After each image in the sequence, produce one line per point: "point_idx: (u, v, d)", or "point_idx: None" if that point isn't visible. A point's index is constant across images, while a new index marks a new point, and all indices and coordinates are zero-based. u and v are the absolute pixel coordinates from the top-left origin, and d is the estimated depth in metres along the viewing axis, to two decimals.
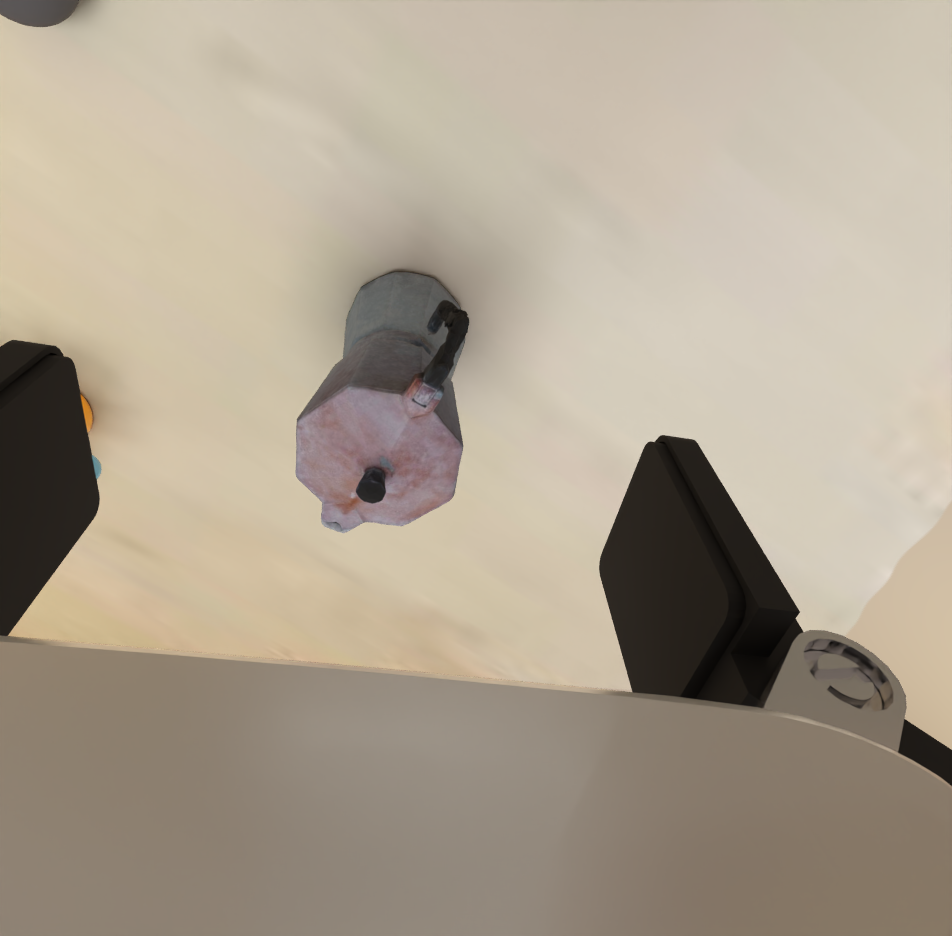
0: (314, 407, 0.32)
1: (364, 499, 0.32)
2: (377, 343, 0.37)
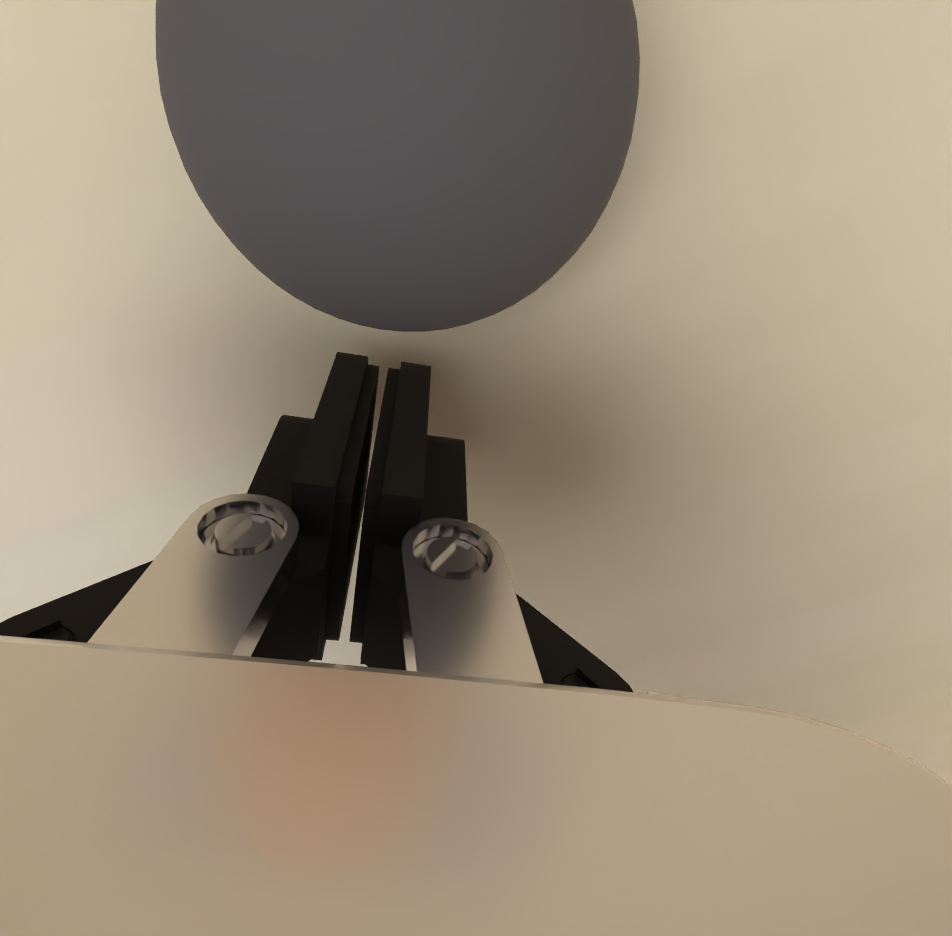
0: None
1: None
2: None
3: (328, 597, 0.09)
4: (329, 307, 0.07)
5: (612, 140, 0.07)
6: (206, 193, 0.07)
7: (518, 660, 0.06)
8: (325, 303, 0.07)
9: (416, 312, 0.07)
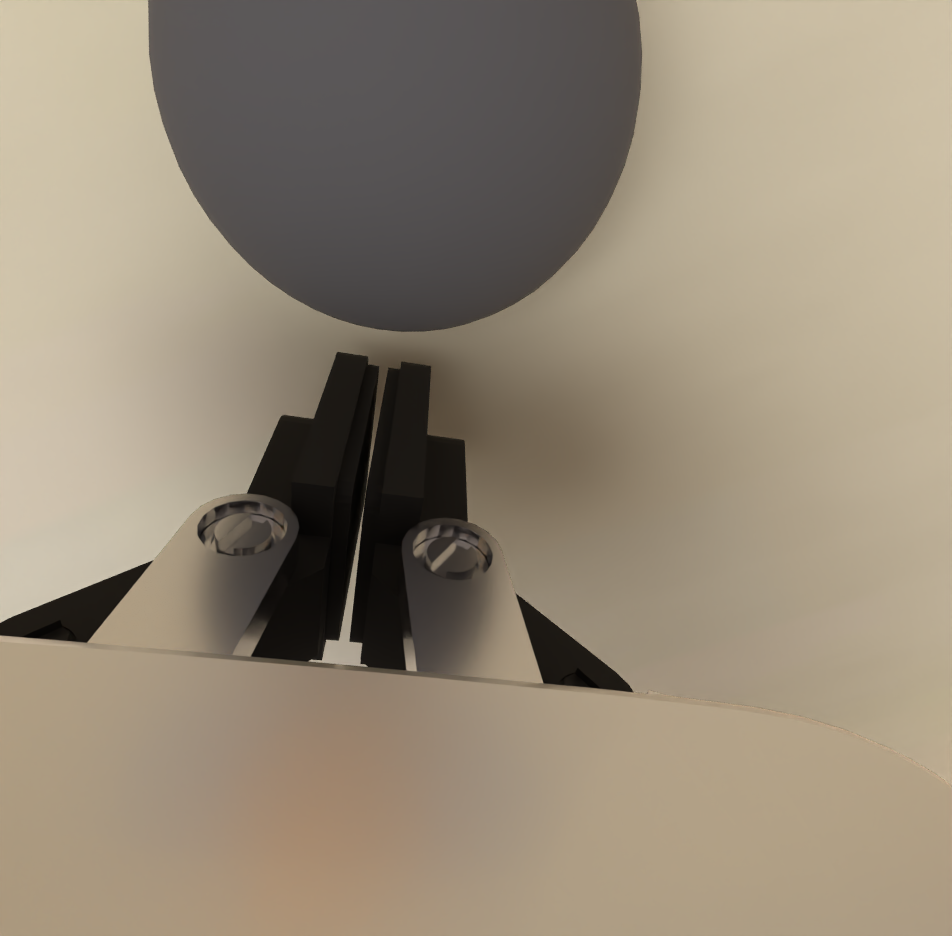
0: None
1: None
2: None
3: (328, 597, 0.09)
4: (326, 307, 0.07)
5: (614, 137, 0.06)
6: (200, 191, 0.07)
7: (518, 660, 0.06)
8: (322, 303, 0.07)
9: (414, 312, 0.07)
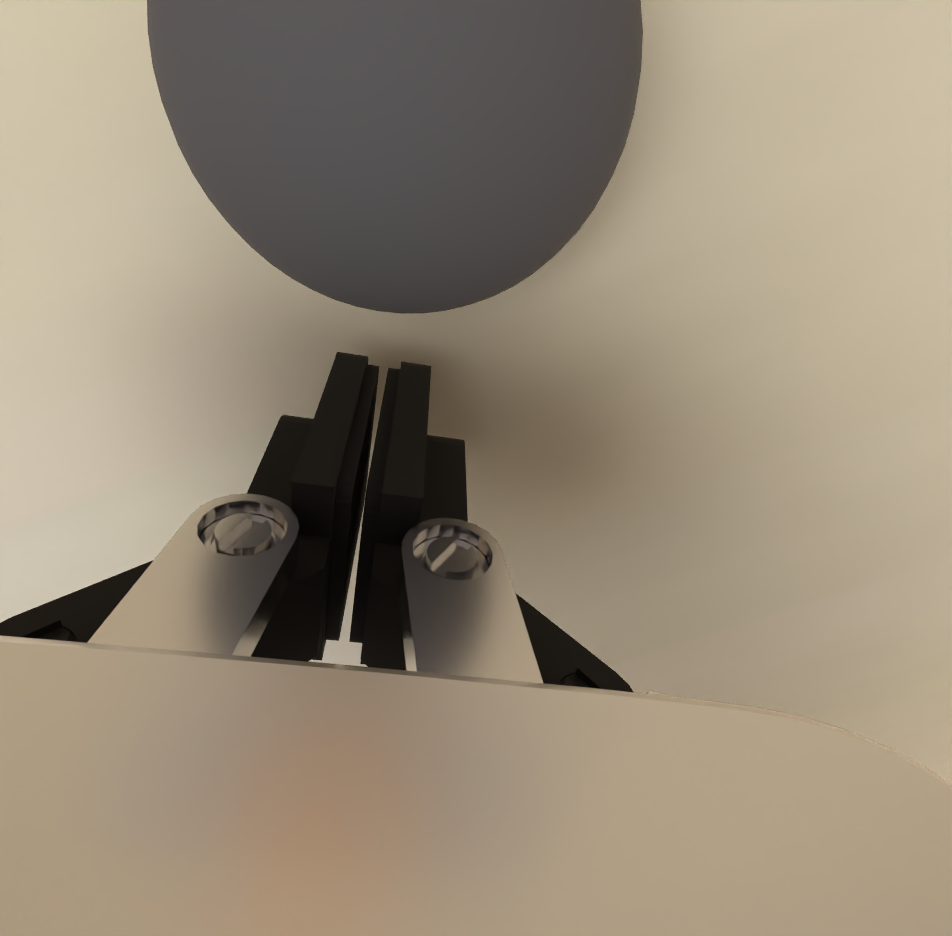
0: None
1: None
2: None
3: (328, 597, 0.09)
4: (326, 287, 0.07)
5: (614, 114, 0.06)
6: (199, 169, 0.07)
7: (518, 660, 0.06)
8: (322, 283, 0.07)
9: (414, 292, 0.07)
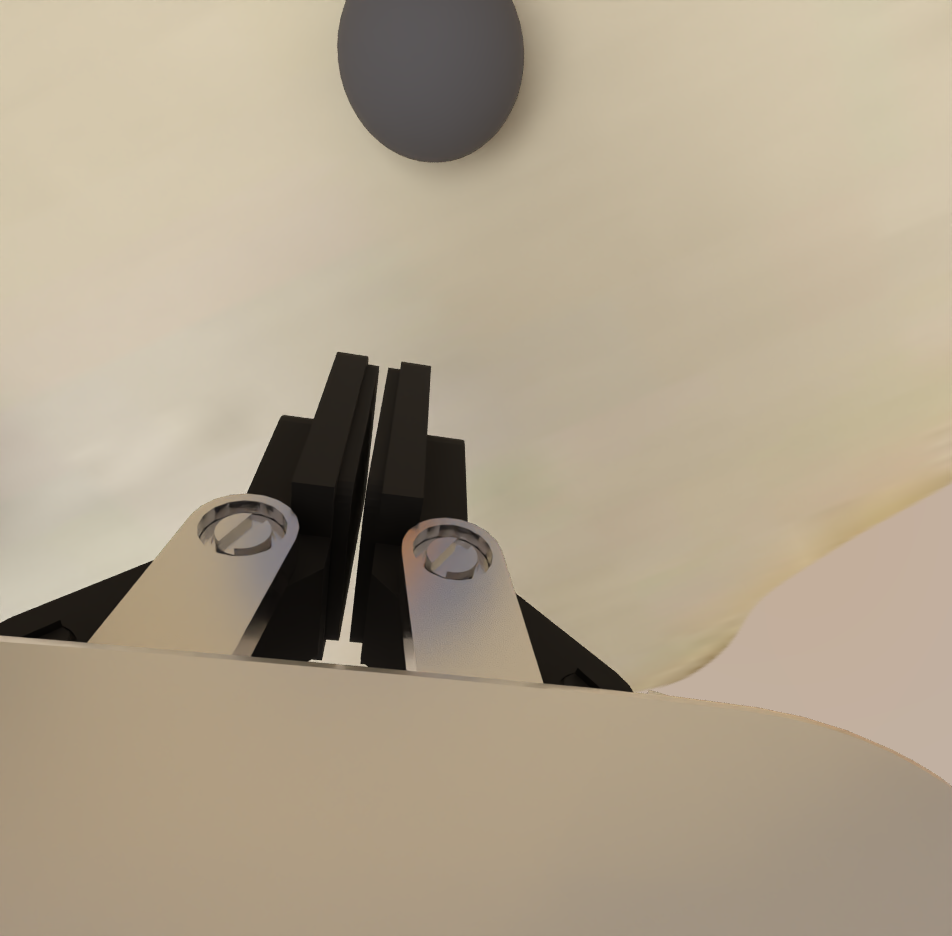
0: None
1: None
2: None
3: (328, 597, 0.09)
4: (400, 142, 0.18)
5: (509, 72, 0.18)
6: (357, 92, 0.18)
7: (518, 660, 0.06)
8: (399, 139, 0.18)
9: (436, 142, 0.18)
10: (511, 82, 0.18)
